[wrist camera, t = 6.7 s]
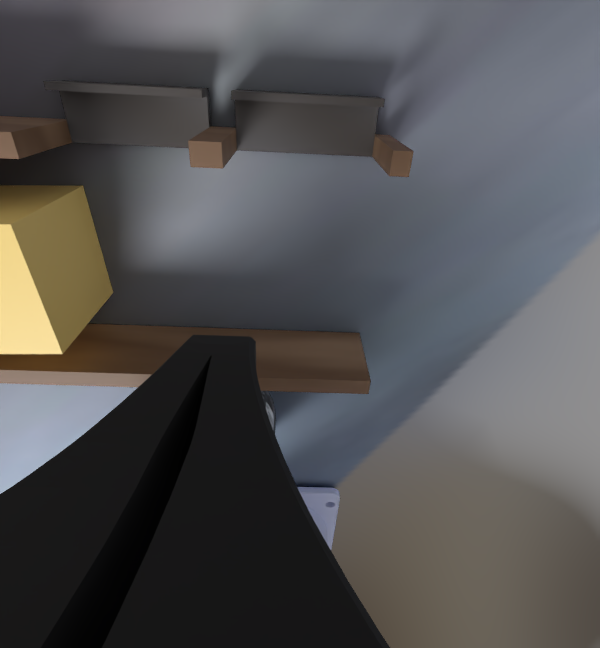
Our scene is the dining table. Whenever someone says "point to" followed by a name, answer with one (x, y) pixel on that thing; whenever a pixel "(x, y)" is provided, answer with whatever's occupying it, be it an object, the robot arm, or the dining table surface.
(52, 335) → the ochre block
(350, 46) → the dining table surface
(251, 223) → the dining table surface
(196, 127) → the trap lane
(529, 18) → the dining table surface
